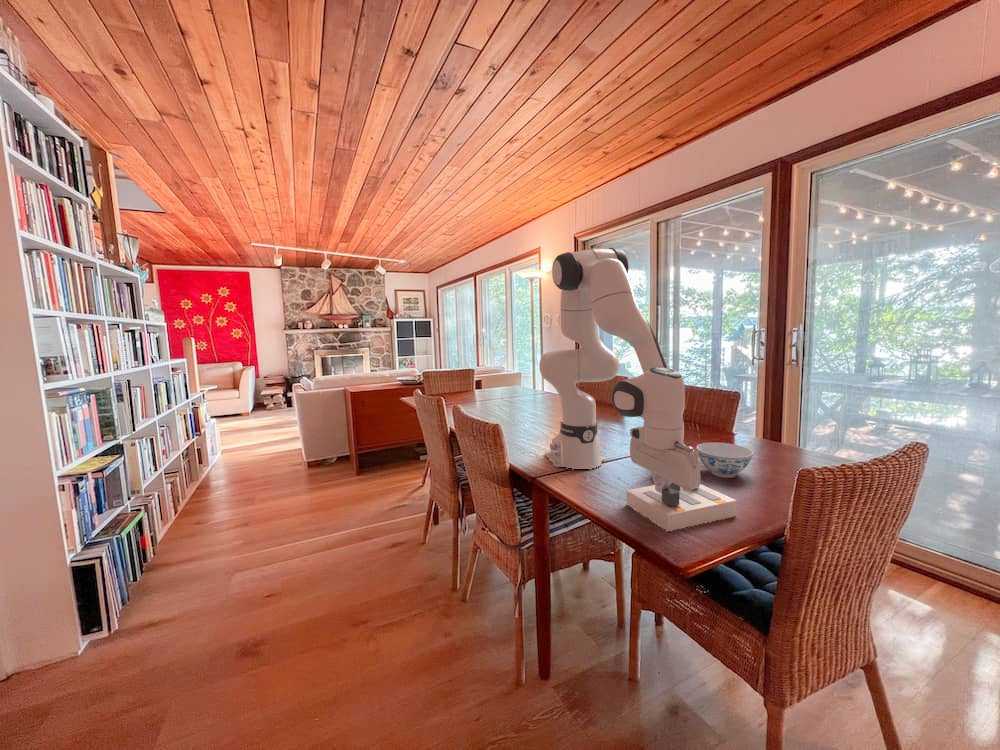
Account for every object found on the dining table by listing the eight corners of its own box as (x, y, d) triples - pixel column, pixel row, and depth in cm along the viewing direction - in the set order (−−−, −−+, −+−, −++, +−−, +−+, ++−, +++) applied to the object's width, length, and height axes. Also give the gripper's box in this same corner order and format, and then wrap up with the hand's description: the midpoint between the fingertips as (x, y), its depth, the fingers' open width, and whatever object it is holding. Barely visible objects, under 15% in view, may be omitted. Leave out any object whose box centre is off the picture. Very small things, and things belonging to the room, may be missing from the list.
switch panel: (626, 505, 103) (626, 489, 103) (688, 492, 109) (688, 478, 109) (667, 532, 89) (667, 514, 89) (736, 516, 95) (736, 499, 95)
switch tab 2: (661, 501, 94) (661, 489, 94) (670, 499, 95) (670, 487, 95) (670, 506, 92) (671, 494, 91) (679, 504, 92) (679, 492, 92)
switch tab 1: (664, 488, 102) (664, 476, 102) (671, 486, 103) (671, 475, 103) (672, 492, 99) (672, 480, 99) (680, 490, 100) (680, 479, 100)
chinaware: (749, 487, 112) (750, 460, 111) (691, 476, 121) (691, 452, 120) (754, 471, 124) (755, 446, 123) (701, 462, 133) (701, 440, 132)
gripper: (709, 447, 85) (706, 508, 87) (646, 425, 105) (645, 475, 106) (685, 451, 83) (683, 513, 85) (625, 427, 103) (625, 479, 104)
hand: (661, 492), depth 96 cm, fingers closed
